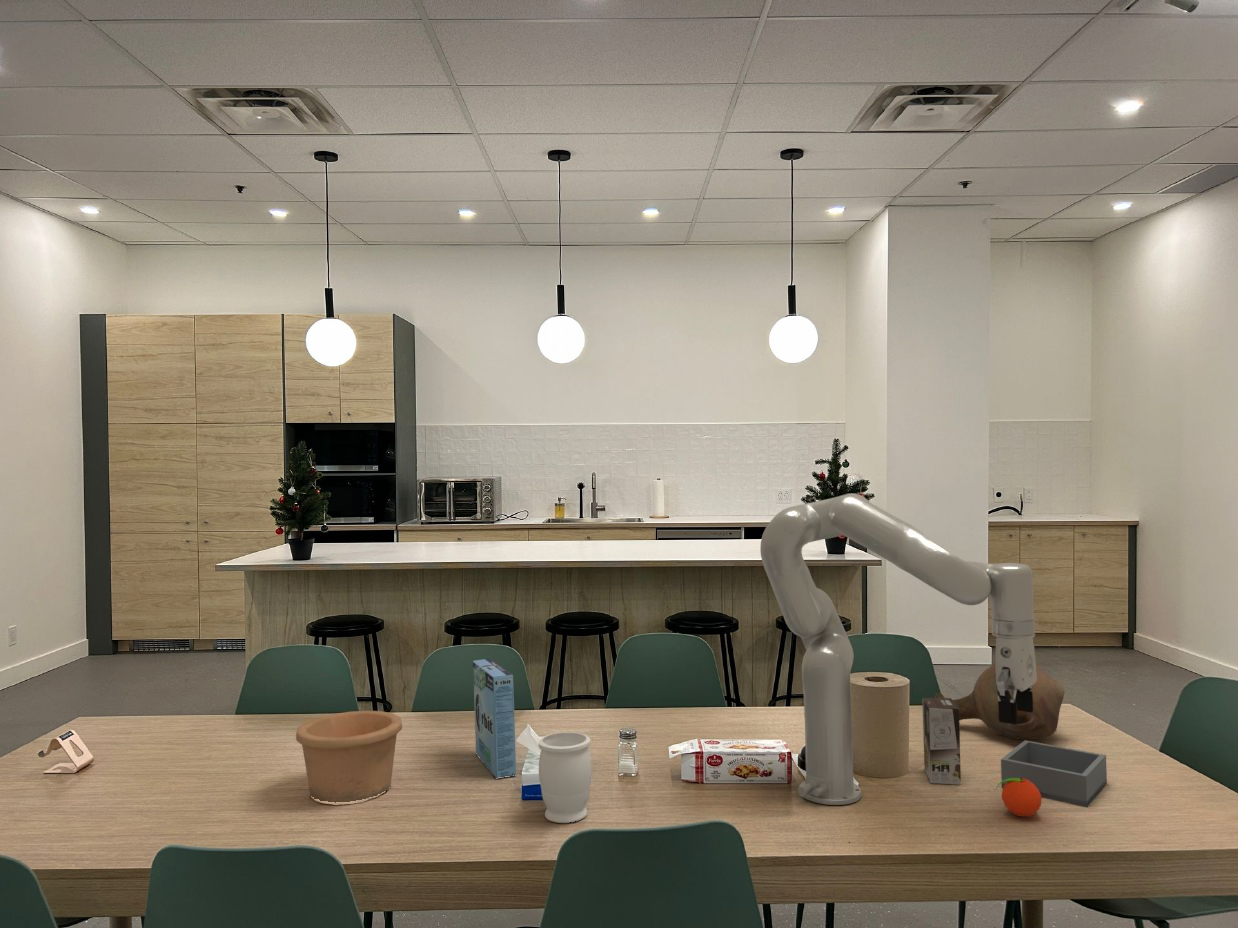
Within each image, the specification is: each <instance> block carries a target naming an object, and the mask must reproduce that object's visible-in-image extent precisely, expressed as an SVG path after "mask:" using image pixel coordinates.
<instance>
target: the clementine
mask: <svg viewBox="0 0 1238 928" xmlns="http://www.w3.org/2000/svg"><path fill="white" fill-rule="evenodd" d="M1005 781H1008V782H1007V783H1006V784H1005V785H1004V787H1003V788H1001V789H1002V790H1001V799H1002V802H1003V804H1004V806H1005V807H1006V809H1007V810H1008V811H1009V812H1011V813H1012V814H1014V815H1016V816H1018V817H1021V818H1022V817H1023V818H1024V817H1030V816H1033V815H1035V814H1036V813H1037V812H1038V811H1040V809H1041V806H1042V797H1041V794H1040V792H1039V790H1038V788H1037V787H1036V786H1035V785H1034V784H1033V783H1032V782H1030V781H1029V780H1027V779H1023V778H1008V779H1005V780H1003V781H1000V782H999V783H998V784H997V785H996V787H995V789H997V788H998V786H999V785H1001V784H1002V782H1005Z"/></svg>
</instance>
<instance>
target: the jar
mask: <svg viewBox="0 0 1238 928" xmlns="http://www.w3.org/2000/svg"><path fill="white" fill-rule="evenodd" d="M537 742H538V748H539V749H540V754H539V760H538V778H539V779H538V780H539V784H540V790H541V795H542V800H543V803H544V805H545V808H547V809H546V810H545V812H544V817H545V818H546V820H548V821H549V822H552V823H557V824H570V822H571V823H575V821H576V822H578V821H581V820H583V819H585V818H586V817H587V815H588V809H587V807H586V805H587V803H588V799H589V795H590V791H591V790H590V788H591V782H592V769H593V767H592V758H591V753H590V749H589V747H590V745H591V743H592V740H591V737H590V735H587V734H584V733H581V732H573V731H569V732H568V731H565V732H562V731H561V732H554V733H551V734H547V735H544V736H542V737H540V738H539V739H538V741H537Z"/></svg>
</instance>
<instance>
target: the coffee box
mask: <svg viewBox="0 0 1238 928" xmlns="http://www.w3.org/2000/svg"><path fill="white" fill-rule="evenodd" d="M953 700H954V699H952V698H951V697H945V698H935V697H922V730H923V733H922V734H923V735H922V737H923V758H924V761H923V762H924V763H923V765H924V772H925V773H926V775H927V777H928V780H929V781H930V783H931V784H941V785H942V784H943V785H955V786H956V785H959V786H960V785H961V781H962V780H961V779H962V778H961V776H962V775H961V739H960V738H961V737H960V735H961V729H960V726H961V725H960V721H959V708H958V706H957V705H956V704H955V703H954V701H953Z"/></svg>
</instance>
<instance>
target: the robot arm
mask: <svg viewBox="0 0 1238 928" xmlns="http://www.w3.org/2000/svg"><path fill="white" fill-rule="evenodd" d="M841 536H844V537H846V538H848V539H849V540H851V541H853V542H854V543H856V544H858V545H861V546H862V547H864V548H866V549H868V551H871V552H873V553H874V554H876V555H877V556H879V557H881V558H883V559H885V560H886V561H887V562H889V563H891V564H893V565H894V566H895V567H897V568H899V569H901V570H902V571H904V572H906V573H908V574H910V575H912V576H913V577H915V578H916V579H918V580H919V581H921V582H923V583H924V584H926V585H928V586H930V587H931V588H932V589H934V590H936V591H938V592H940V593H942V594H943V595H945V596H947V597H949V598H950V599H952V600H954V601H956V602H957V603H960V604H962V605H966V606H976V605H980V604H982V603H983V602H984V601H986V600H987V599H988V598H989V599H990V612H991V635H992V636H993V637H995V638H996V639H995V663H994V664H996V683H997V687H998V691H997V692H998V693H997V694H998V708H999V721H1000V722H1003V723H1010V724H1017V723H1018V718H1017V710H1018V711H1025V712H1032V711H1033V692H1032V689H1033V687H1032V685H1034V684H1035V683H1036V681H1037V672H1036V665H1037V663H1036V662H1037V661H1036V652H1035V645H1034V638H1035V637H1036V631H1035V610H1034V609H1035V607H1034V584H1033V583H1034V582H1033V578H1034V577H1033V570H1032V568H1031V567H1030V566H1029V565H1027V564H1024V563H1018V562H1017V563H1016V562H1015V563H1014V562H1005V563H1003V562H1002V563H984V562H977V561H968V560H967V561H965V560H963V559H962V558H960V557H958V556H957V555H955V554H953V553H951V552H949V551H948V550H946V549H944V548H942V546H939V545H938V544H936V543H935V542H933V541H932V540H931V539H929V538H928V537H927V535H925V534H924V533H923V532H921V531H920V530H919V529H918V528H917V527H915V526H913V525H912V524H909V523H908V522H907V521H904V520H903V519H900V518H899V517H897V516H895V515H893V514H892V513H889V512H888V511H885V510H884V509H882V508H881V507H879V506H877V505H875V504H873V503H872V502H869V500H868V499H867V498H866V497H864V496H863V495H860V494H859V493H854V492H853V493H845V494H842V495H839V496H838V495H837V496H835V497H831V498H827V499H823V500H817V501H813V502H809V503H803V504H798V505H793V506H789V507H787V508H784V509H782V510H781V511H779V512H778V513H777V514H776V515H775V516H774V517H773V518H772V519H771V520H770V521H769V523H768V524H767V526H766V527H765V529H764V531H763V533H762V537H761V541H760V549H759V550H760V558H761V562H762V565H763V568H764V571H765V574H766V577H767V578H768V581H769V583H770V586H771V588H772V592H773V594H774V596H775V598H776V601H777V603H778V606H779V608H780V610H781V613H782V616H783V618H784V619H783V620H784V621H785V624H786V625H787V628H788V629H789V630H790V631H791V632H792V633H793V634H794V635H796V636H798V637H800V638H801V641H802V643H803V646H804V648H805V650H806V651H805V653H804V655H803V658H802V662H801V680H802V681H801V683H802V690H803V708H804V709H803V710H804V712H803V713H804V738H805V740H804V741H805V746H804V747H805V780H804V781H802V782H801V783H800V784H799V786H798V787H797V795H799V797H801V798H804V799H805V800H808V801H810V802H812V803H815V804H821V805H826V806H827V805H829V806H840V805H841V806H843V805H844V806H845V805H850V804H854V803H855V802H858V801H859V800H860V799H861V798H862V795H863V794H862V789H861V787H859V785H858V784H855V783H854V755H853V753H854V751H853V750H854V749H853V745H854V744H853V719H852V718H853V716H852V711H853V710H852V695H851V670H852V666H853V663H854V657H855V655H854V649H853V646H852V644H851V642H850V641H851V640H850V639H849V637H848V634H847V631H846V629H845V628H844V625H843V623H842V621H841V618H840V616H839V614H838V612H837V609H836V607H835V605H834V603H833V600H832V599H831V598H830V596H829V595H828V594H827V593H826V592H825V591H824V590H822V589H820V588H819V587H817V586H816V584H815V581H814V579H813V578H812V575H811V572H810V569H809V568H808V566H807V564H806V562H805V560H804V558H803V553H802V551H803V547H804V546H805V545H808V543H809V544H810V543H813V542H817V541H818V542H819V541H822V540H828V539H832V538H837V537H841ZM1009 685H1011V686H1009ZM1017 689H1019V690H1017ZM1009 691H1011V695H1010V693H1009Z"/></svg>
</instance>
